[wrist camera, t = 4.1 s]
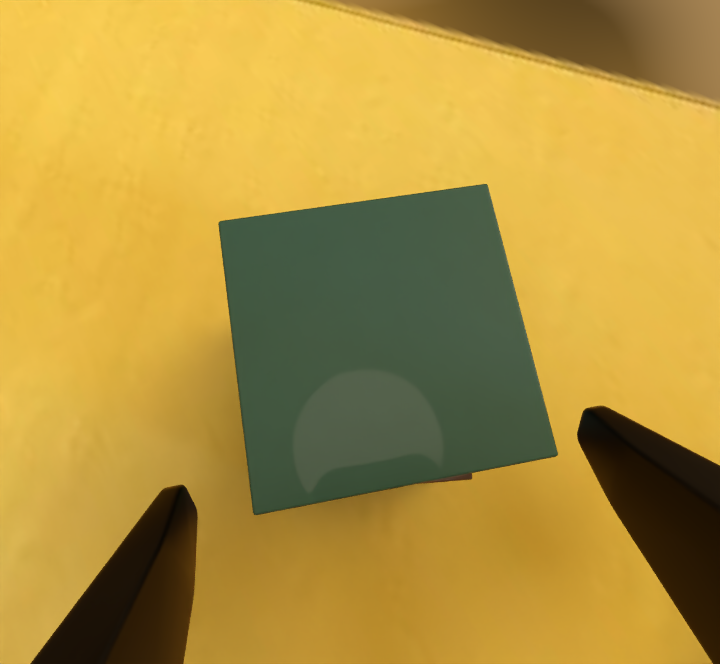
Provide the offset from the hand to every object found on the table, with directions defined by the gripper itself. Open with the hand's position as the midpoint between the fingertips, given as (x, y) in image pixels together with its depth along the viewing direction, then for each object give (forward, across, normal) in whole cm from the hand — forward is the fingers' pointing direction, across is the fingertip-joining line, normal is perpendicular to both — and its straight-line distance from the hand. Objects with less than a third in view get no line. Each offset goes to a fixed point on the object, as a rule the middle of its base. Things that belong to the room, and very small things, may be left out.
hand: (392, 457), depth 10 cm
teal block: (+7, 0, +3) cm, 7 cm away
